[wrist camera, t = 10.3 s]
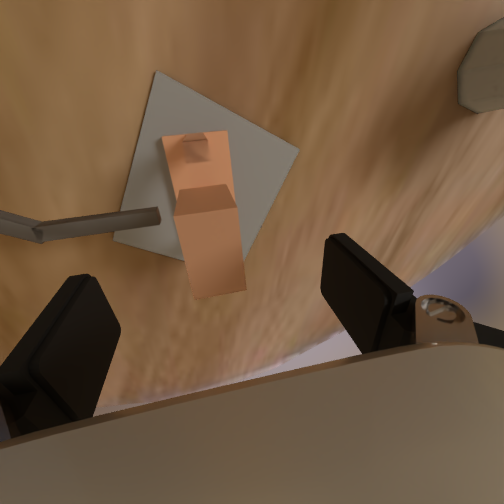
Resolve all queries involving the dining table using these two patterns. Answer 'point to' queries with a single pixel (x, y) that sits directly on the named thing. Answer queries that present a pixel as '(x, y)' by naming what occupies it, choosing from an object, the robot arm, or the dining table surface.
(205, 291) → the orange block
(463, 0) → the dining table surface
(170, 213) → the mat
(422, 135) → the dining table surface
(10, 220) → the stand
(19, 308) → the dining table surface
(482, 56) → the coffee maker
